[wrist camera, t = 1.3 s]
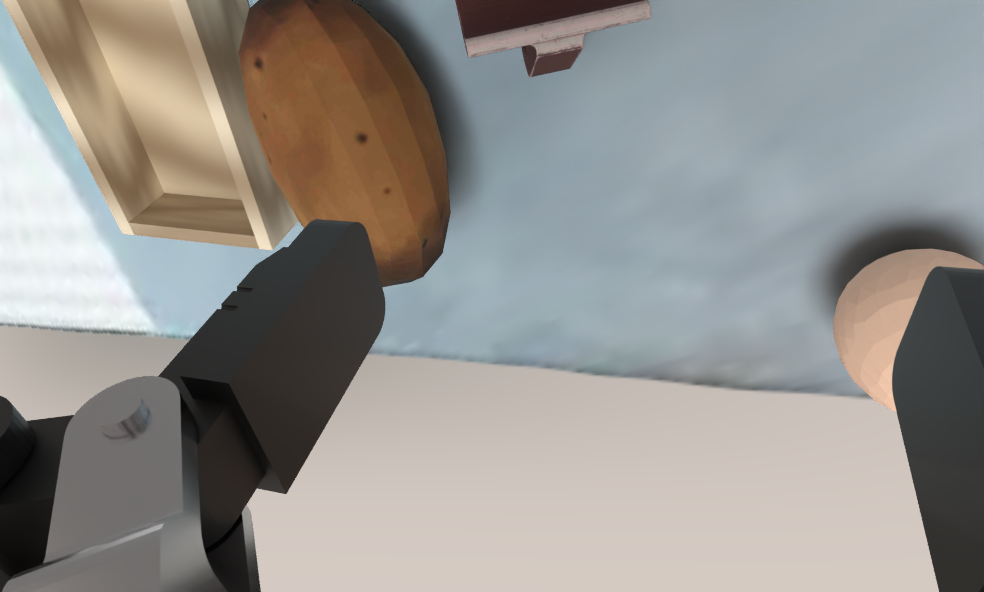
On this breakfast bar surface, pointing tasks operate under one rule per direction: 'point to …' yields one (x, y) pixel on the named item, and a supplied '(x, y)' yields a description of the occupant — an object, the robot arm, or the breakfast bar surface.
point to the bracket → (542, 27)
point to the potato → (348, 128)
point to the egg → (884, 314)
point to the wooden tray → (160, 114)
